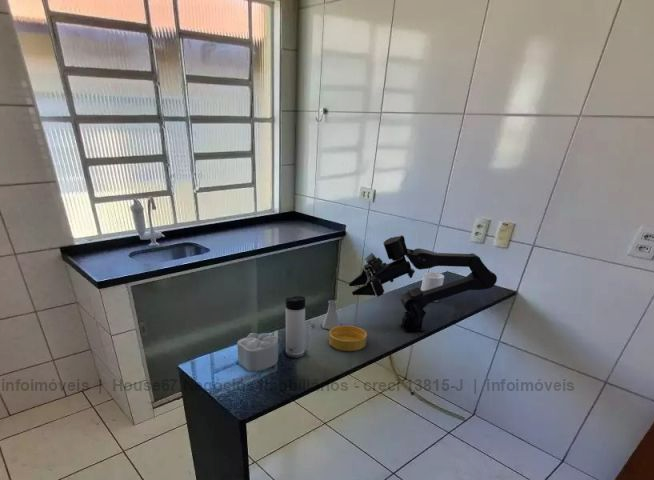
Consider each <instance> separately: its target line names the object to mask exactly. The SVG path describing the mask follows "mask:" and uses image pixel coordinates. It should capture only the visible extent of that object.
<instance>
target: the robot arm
mask: <svg viewBox="0 0 654 480" xmlns="http://www.w3.org/2000/svg"><path fill="white" fill-rule="evenodd" d="M383 247H384V249H385V252H386V255H387V256H386V257H387V259H389V260H391V262H388V263H387V262H384V261H383V259H381V258H380V257H376V255H375V254H374V253H373V252H371V253H369V255H367V257H365V258H364V260H365V262H366V264H364V265H363V267H362V268H361V271H360V274H358V276H356V277H355V278H354V279H352V280H351V281H350V282H349V283H348V286H349V287H358V286H359V287H358V288H356V289H354V290H352V292H351V293H352V295H353V296H373V297H380V296H383V295H384V293H385V288H384V286H383V285H384V284H386V283H388V282H390V283H393V282H394V280H396V279H398V278H400V277H403V276H405V275H407V276H408V278H410V279H412V278H413V276H414V274H415V272H416V270H415V269H417V270H420V271H421V270H427V269H432V268H435V267H457V268H458V267H460V268H461V267H462V268H469V269H470V273H469V274H467V275H466V277H463V278H460V279H457V280H454V281H451V282H448V283H445V284H443V285H442V286H438V287H435V288H432V289H429V290H426V291H421V287H419V286H417V287H414V288H413V289H407V292H405V293H403V294H402V295H401V298H400V302H401V305H402V306H403V308H404V309H405V311H404V313H403V316H402V319H401V324H400V326H401V328H402V329H403V330H404V332H405V333H421V332H424V329H423V328H422V327H423V321H424V318H425V316H426V314H427V312H426V310H425V309H424V308H426V307H427V306H428V305H429V304H430V303H435V302H434V301H437V300H438V301H440V300H443V299H446V298H450V297H452V296H456V295H459V294H461V293H464V292H468V291H485V290H490V289H491V288H494V287H495V285H496V284H497V281H498V276H497V274H496V273H494V272H493V271H492V270H490V269H489V268H488V267H487V265H485V264H484V262H483V261H482V259H481V257H480V256H478V255H477V254H476V253H474V252H472V253H453V252H452V253H451V252H450V253H449V252H436V251H432V250H428V249H424V248H415V249H411V248H407V245H406V240H405V236H404V235H402V234H401V235H399V236H398V235H397V236H394V237H389V238H387V239H385V241H383ZM406 258H407V259H408V260H407V259H406ZM411 265H412V266H413V267H414V268H415V269H414V268H412V266H411ZM438 301H437V302H438Z"/></svg>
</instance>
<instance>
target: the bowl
mask: <svg viewBox="0 0 654 480" xmlns="http://www.w3.org/2000/svg"><path fill="white" fill-rule="evenodd" d="M367 337H368V333H367V332H366V330H364V329H363V328H361V327H358V326H355V325H340V326H337V327H334V328H332V329H331V330H330V329H329V332H328V344H329V345H330V347H332V348H333V349H335V350H338V351H342V352H356V351H359V350H362V349H363V348H364V347H365V346H367Z"/></svg>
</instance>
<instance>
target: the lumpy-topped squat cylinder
mask: <svg viewBox="0 0 654 480" xmlns="http://www.w3.org/2000/svg"><path fill="white" fill-rule="evenodd" d="M236 345H237V346H236V347H237V359H238V360H237V361H238V364H239V365H240V366H242V367H243V368H245V369H246V370H247V371H249V372H260V371H263V370H266V369H268V368H271V367H273V366H275V365H276V364H277V362H278V361H279V339H278V337H277V336H276V335H274V334H269V333H266V332H262V333H256V332H250V333H249V334H248V335H247V336H246V337H244V338H240V339H239V340H238V341H237V343H236Z"/></svg>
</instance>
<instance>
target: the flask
mask: <svg viewBox="0 0 654 480" xmlns="http://www.w3.org/2000/svg"><path fill="white" fill-rule="evenodd" d="M337 302H338V301H337V300H334V299H332V300H331V299H329V300H328V301H327V303H328V308H327V312H326V315H325V317H324V320H323V322H322V323H321V326H322V328H323V329H326V330H329V331H330V330H331V329H332V328H334V327H337V326H341V323H340V320H339V316H338V313H337Z"/></svg>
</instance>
